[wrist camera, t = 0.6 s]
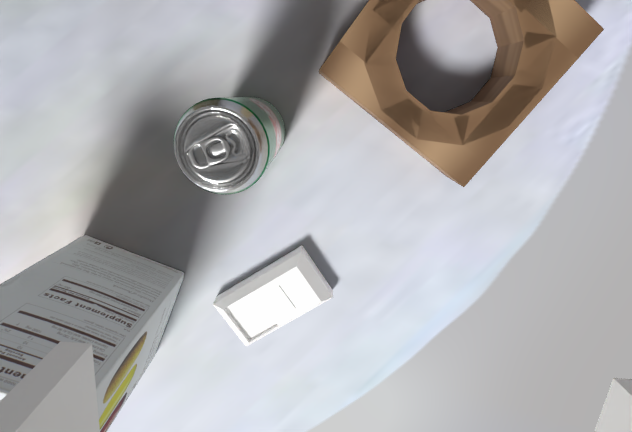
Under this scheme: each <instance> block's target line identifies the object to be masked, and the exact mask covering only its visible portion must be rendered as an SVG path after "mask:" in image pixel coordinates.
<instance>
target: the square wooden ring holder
mask: <svg viewBox="0 0 632 432" xmlns="http://www.w3.org/2000/svg"><path fill="white" fill-rule="evenodd" d="M422 1H425V0H369V1H368V3H367V4H366V5H365V7H364V8H363V10H362V11H361V12H360V14H359V15H358V17H357V18H356V19H355V21H354V22H353V23H352V25H351V26H350V28H349V29H348V30H347V32H346V33H345V35H344V36H343V37H342V39H341V40H340V42H339V43H338V44H337V46H336V47H335V48H334V50H333V51H332V53H331V54H330V55H329V57H328V58H327V60H326V61H325V62H324V64H323V65H322V66H321V68H320V69H319V73H320V74H321V75H322V76H323V77H324V78H326V79H327V80H328V81H329V82H331V83H332V84H333V85H334V86H336V87H337V88H338V89H339V90H341V91H342V92H343V93H344V94H345V95H347V96H348V97H349V98H350V99H352V100H353V101H354V102H355V103H357V104H358V105H359V106H360V107H362V108H363V109H364V110H365V111H366V112H368V113H369V114H370V115H371V116H373V117H374V118H375V119H376V120H378V121H379V122H380V123H381V124H383V125H384V126H385V127H386V128H388V129H389V130H390V131H391V132H392V133H394V134H395V135H396V136H397V137H399V138H400V139H401V140H402V141H404V142H405V143H406V144H407V145H409V146H410V147H411V148H412V149H413V150H415V151H416V152H417V153H418V154H420V155H421V156H422V157H423V158H425V159H426V160H427V161H428V162H430V163H431V164H432V165H433V166H434V167H436V168H437V169H438V170H439V171H441V172H442V173H443V174H444V175H446V176H447V177H448V178H450V179H452V180H453V181H455V182H456V183H458V184H460V185H461V186H463V187H464V186H465V185H466V184H467V183H468V182H469V181H470V180H471V179H472V177H473V176H474V175H475V174H476V173H477V172H478V171H479V170H480V168H481V167H482V166H483V165H484V164H485V163H486V162H487V161H488V159H489V158H490V157H491V156H492V155H493V154H494V153H495V151H496V150H497V149H498V148H499V147H500V146H501V145H502V144H503V142H504V141H505V140H506V139H507V138H508V137H509V136H510V135H511V133H512V132H513V131H514V130H515V129H516V128H517V127H518V126H519V124H520V123H521V122H522V121H523V120H524V119H525V118H526V117H527V115H528V114H529V113H530V112H531V111H532V110H533V109H534V108H535V106H536V105H537V104H538V103H539V102H540V101H541V100H542V98H543V97H544V96H545V95H546V94H547V93H548V92H549V91H550V89H551V88H552V87H553V86H554V85H555V84H556V83H557V82H558V80H559V79H560V78H561V77H562V76H563V75H564V74H565V73H566V71H567V70H568V69H569V68H570V67H571V66H572V65H573V64H574V62H575V61H576V60H577V59H578V58H579V57H580V56H581V55H582V53H583V52H584V51H585V50H586V49H587V48H588V47H589V46H590V44H591V43H592V42H593V41H594V40H595V39H596V38H597V36H598V35H599V34H600V33H601V32H602V31H603V30H604V29H603V28H602V27H601V26H600V25H599V24H598V23H597V22H596V21H595V20H594V19H593V18H592V17H591V16H590V15H589V14H588V13H587V12H586V11H585V10H584V9H583V8H582V7H581V6H580V5H579V4H578V3H577V2H576V1H575V0H471V1H472V2H473V3H474V4H475V5H476V6H477V7H478V8H479V9H480V10H481V11H483V12H484V13H485V14H486V15H487V16H488V17H489V18H490V21H491V24H492V28H493V32H494V36H495V39H496V43H497V47H498V49H497V53H496V57H495V61H494V65H493V70H492V74H491V78H490V79H489V80H488V82H487V83H486V84H485V85H484V86H483V87H482V89H481V90H480V91H479V92H478V93H477V95H476V96H475V97H474V98H473V99H472V101H471V102H468V103H466V104H463V105H461V106H458V107H456V108H454V109H451V110H449V111H446V112H437V111H430V110H429V109H428V108H427V107H425V106H424V105H423V104H422V103H421V102H420V101H418V100H417V99H416V98H415V97H414V96H412V95H411V94H410V93H409V92H408V91H406V88H405V85H404V82H403V79H402V76H401V73H400V70H399V67H398V64H397V61H396V54H397V49H398V43H399V37H400V31H401V26H402V22H403V21H404V20H405V18H406V17H407V16H408V14H409V13H410V12H411V11H412V9H413V8H414V7H415V5H416V4H418V3H420V2H422Z"/></svg>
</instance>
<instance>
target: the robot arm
mask: <svg viewBox="0 0 632 432" xmlns="http://www.w3.org/2000/svg"><path fill="white" fill-rule="evenodd" d="M0 432H100V427H99V416H98V404H97V393H96V382H95V371H94V360H93V349H92V344H90V343H75V342H59V343H58V344H57V345H56V346H55V347H54V348H53V349H52V350H51V351H50V352H49V353H48V354H47V355H46V356H45V357H44V358H43V359H42V360H41V361H40V362H39V363H38V364H37V365H36V366H35V367H34V368H33V369H32V370H31V371H30V372H29V373H28V374H27V375H26V376H25V377H24V378H23V379H22V380H21V381H20V382H19V383H18V384H17V385H16V386H15V387H14V388H13V389H12V390H11V391H10V392H9V393H8V394H7V395H6V396H5V397H4V398H3V399H2V400H1V401H0ZM594 432H632V379H618V378H613V381H612V384H611V386H610V389H609V392H608V395H607V398H606V400H605V403H604V406H603V409H602V412H601V414H600V418H599V420H598V423H597V426H596V428H595V431H594Z"/></svg>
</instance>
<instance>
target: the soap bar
mask: <svg viewBox="0 0 632 432" xmlns="http://www.w3.org/2000/svg"><path fill="white" fill-rule="evenodd" d="M331 298H333V290H332V288H331V287H330V285H329V284H328V282H327V281H326V279H325V278H324V276H323V275H322V273H321V272H320V270H319V269H318V268H317V266H316V265H315V263H314V262H313V260H312V259H311V257H310V256H309V254H308V253H307V251H306V250H305V249H304V247H303V246H300V247H298V248H297V249H295V250H293V251H292V252H290V253H288V254H287V255H285V256H283V257H281V258H280V259H278V260H276V261H275V262H273V263H271V264H270V265H268V266H266V267H265V268H263V269H261V270H260V271H258V272H256V273H255V274H253V275H251V276H250V277H248V278H246V279H245V280H243V281H241V282H240V283H238V284H236V285H234V286H233V287H231V288H229V289H228V290H226V291H224V292H223V293H221V294H219V295H218V296H217V297H216V299H215V301H214V303H213V305H214V306H215V307H216V309H217V310H218V311H219V313H220V314H221V315H222V316H223V318H224V319H225V320H226V321H227V323H228V324H229V325H230V326H231V328H232V329H233V330H234V332H235V333H236V334H237V335H238V337H239V338H240V339H241V340H242V342H243V343H244V344H245V345H246V346H248V345H250V344H251V343H253V342H255V341H257V340H259V339H260V338H262V337H264V336H266V335H267V334H269V333H271V332H273V331H274V330H276V329H278V328H280V327H282V326H283V325H285V324H287V323H289V322H290V321H292V320H294V319H296V318H297V317H299V316H301V315H303V314H305V313H306V312H308V311H310V310H312V309H313V308H315V307H317V306H319V305H320V304H322V303H324V302H326V301H328V300H329V299H331Z"/></svg>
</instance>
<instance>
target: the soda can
mask: <svg viewBox="0 0 632 432" xmlns="http://www.w3.org/2000/svg"><path fill="white" fill-rule="evenodd" d="M284 137H285V127H284V122H283V119H282V117H281V115H280V113H279V112H278V110H277V109H276V108H275V107H274V106H273V105H271V104H270V103H269V102H267V101H265V100H263V99H260V98H256V97H228V98H211V99H206V100H203V101H201V102H199V103H196V104H195V105H193V106H192V107H191V108H189V109H188V110H187V111H186V112H185V113H184V114H183V116H182V117H181V119H180V120H179V122H178V125H177V127H176V130H175V134H174V151H175V156H176V160H177V163H178V165H179V167H180V169H181V171H182V172H183V173H184V175H185V176H186V177H187V178H188V179H189V180H190V181H191V182H193V183H194V184H195V185H197V186H198V187H200V188H202V189H204V190H206V191H209V192H211V193H216V194H234V193H238V192H241V191H243V190H245V189H247V188H249V187H250V186H252V185H253V184H254V183H255V182H257V181H258V180H259V178H260V177H261V176H262V174H263V173H264V172H265V170H266V169H267V167H268V166H269V164H270V163H271V162H272V160H273V159H274V157H275V156H276V154H277V153H278V152H279V150H280V148H281V147H282V144H283V142H284Z"/></svg>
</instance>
